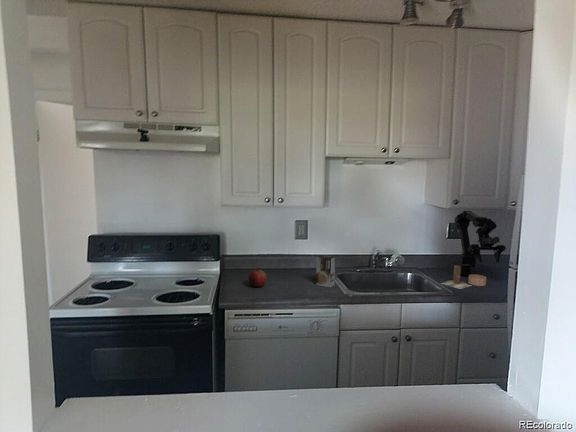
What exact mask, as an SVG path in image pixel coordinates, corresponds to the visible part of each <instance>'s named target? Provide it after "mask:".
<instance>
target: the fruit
mask: <svg viewBox="0 0 576 432" xmlns="http://www.w3.org/2000/svg"><path fill="white" fill-rule="evenodd" d="M248 282H249V285H251V286H253V287H256V288H258V287H259V288H260V287H263V286H264V285H266V282H267V274H266V273H265V271H263V270H261V269H260V268H259V267H256V268H255V269H252V270H251V271H250V272H249V274H248Z"/></svg>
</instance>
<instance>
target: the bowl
mask: <svg viewBox="0 0 576 432" xmlns="http://www.w3.org/2000/svg"><path fill="white" fill-rule="evenodd" d="M467 284H469V285H471V286H477V287H484V286H486V284H487V277H486V276H485V275H481V274H473V273H472V274H471V275H469V277H468V283H467Z"/></svg>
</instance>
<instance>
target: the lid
mask: <svg viewBox="0 0 576 432" xmlns="http://www.w3.org/2000/svg"><path fill="white" fill-rule="evenodd" d="M460 273H461V266H459V265H458V264H457V265H453V278H452V280H445V281H444V283H445V284H446V285H445V286H448V285H449V286H448V287H451V286H452V288H455V287H458V288H462V289H465V288H464V287H466V288H468V287H467V284H468V283H466V282H464V281H461V275H460ZM458 288H457V289H458Z"/></svg>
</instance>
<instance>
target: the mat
mask: <svg viewBox="0 0 576 432" xmlns="http://www.w3.org/2000/svg"><path fill="white" fill-rule="evenodd" d="M440 284H441V285H445V286H447V287H452V286H449V285H446V284H445V282H441V283H440ZM469 287H472V284H469V283H467V287H464V288H458V287H454V288H455V289H459V290H462V289H465V288H469ZM452 288H453V287H452Z"/></svg>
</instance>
